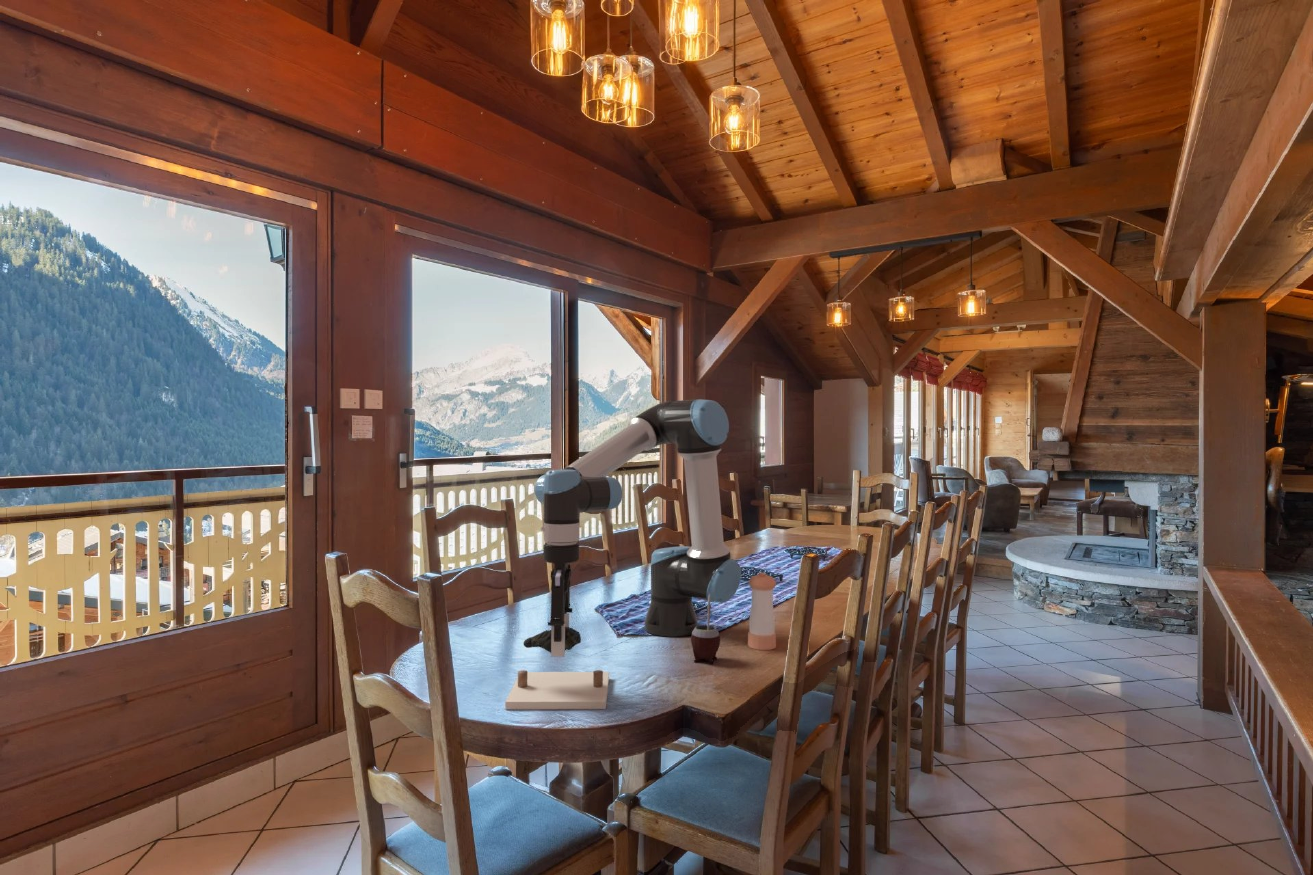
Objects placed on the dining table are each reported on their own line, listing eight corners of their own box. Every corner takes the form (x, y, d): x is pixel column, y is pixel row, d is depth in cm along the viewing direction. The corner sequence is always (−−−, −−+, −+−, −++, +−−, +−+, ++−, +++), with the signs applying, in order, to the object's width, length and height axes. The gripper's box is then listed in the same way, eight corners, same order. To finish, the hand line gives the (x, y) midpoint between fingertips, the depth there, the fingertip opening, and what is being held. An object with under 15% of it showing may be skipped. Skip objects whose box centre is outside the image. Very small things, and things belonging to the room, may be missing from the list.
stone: (533, 642, 151) (533, 618, 151) (587, 648, 146) (587, 624, 146) (516, 651, 144) (516, 626, 144) (572, 658, 139) (571, 632, 139)
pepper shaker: (779, 643, 180) (779, 571, 180) (771, 651, 173) (772, 576, 173) (752, 640, 183) (753, 568, 183) (744, 647, 176) (744, 573, 176)
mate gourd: (700, 667, 161) (701, 604, 161) (683, 657, 168) (684, 596, 168) (726, 662, 165) (727, 600, 165) (709, 653, 172) (710, 593, 172)
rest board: (609, 678, 154) (609, 658, 153) (605, 708, 137) (605, 686, 136) (519, 678, 153) (520, 658, 153) (505, 709, 136) (505, 686, 136)
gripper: (549, 535, 155) (548, 635, 155) (536, 550, 134) (535, 666, 134) (582, 535, 155) (581, 635, 155) (574, 550, 134) (573, 666, 134)
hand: (560, 649), depth 145 cm, fingers closed on stone, 8 cm apart
